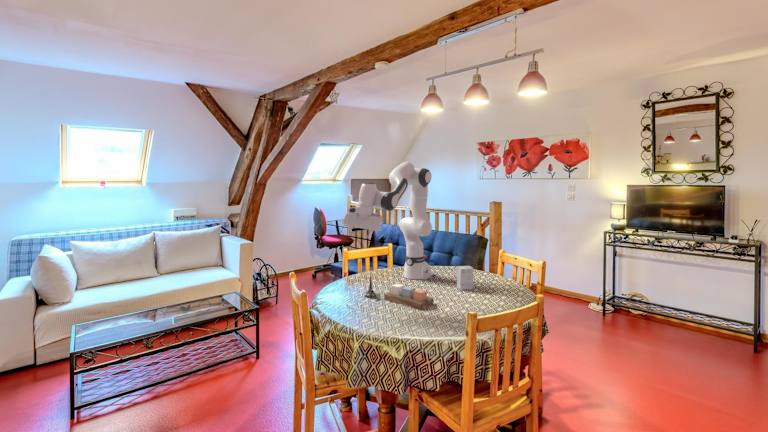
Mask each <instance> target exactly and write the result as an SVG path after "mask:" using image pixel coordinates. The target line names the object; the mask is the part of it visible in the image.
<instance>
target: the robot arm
mask: <svg viewBox="0 0 768 432" xmlns="http://www.w3.org/2000/svg"><path fill="white" fill-rule="evenodd" d="M431 180H432V173H431V171H430V170H429V169H427V168H421V167H415V166H414V164H413V163H411V162H410V161H404V162H401V163H400V164H398V165H397V166H396V167H395V168H393V170H392V171H391V172H390V173H389V176H388V181H389V183H390V184H391V186H392V187H393V190H392V191H380V190H379V189H378V188H377V184H376V183H374V182H365V181H364V182H363V183H362V184H361V185H360V189H359V192H358V193H359V194H358V202H357V204H356V206H353V207H348V208H347V212H346V213H345V215H344V218H343V222H342V224H343V226H346V227H348V231H349V236H354V231H352V229H353V228H356V229H363V230H368V231H369V234H367V235H366V239H371V236H372V234H373V233H374V232H379V231H381V223H382V222H383V216H382V215H381V214H380V213H374V212H373V210H374V209H379V210H384V211H388V212H391V211H392V212H393V211H394V210H395V208H396V207H397V206H398V203H399V202H400V199H401V198H402V196H403V195H404V193H405V192H406V191H407V188H408V186H412V187H411V190H410V196H409V205H408V208H409V210H410V211H411V214H412V216H411V217H410V216H407V217H403V218H402V219H400V221H399V222H398V223H399V224H398V227H399V229H400V231H401V232H402V234H403V237H404V240H405V247H406V251H405V254H406V255H405V263H404V268H403V269H404V270H403V272H402V276H403V278H405V279H408V280H428V279H429V278H431V277H432V276H434V275H435V272H434V271H432V268H431V265H430V264H429V263H428V262H427V261H426V260H425V259H427V258H428V256H427V255H425V254H424V242H422V240H421V239H420V237H427V236H429V235H430V234H431V233H432V230H433V226H432V223H431V222H430V220H429V217H428V214H427V205H428V204H427V203H428V196H429V195H428V193H429V186H428V185H429V184H430V183H431V182H432V181H431Z"/></svg>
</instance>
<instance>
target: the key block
mask: <svg viewBox="0 0 768 432" xmlns="http://www.w3.org/2000/svg"><path fill="white" fill-rule="evenodd" d="M383 296H384V298H383V299H384V300H385V301H389V302H391V303H392V302H393V303H395V304H398V305H401V306H405V307H410V308H412V309H417V310H419V311H421V310H424V309H425V308H427V307H429V306H431V305H434V297H431V296H427V300H425V301H423V302H420V301H416V300H413V298H411V299H408V298H405V297H402V295H399V296H397V295H394V294H391V291H389V292H386V293H384V295H383Z"/></svg>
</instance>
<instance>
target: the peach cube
mask: <svg viewBox="0 0 768 432" xmlns="http://www.w3.org/2000/svg"><path fill="white" fill-rule="evenodd" d="M427 295H428V291H427V290H425V289H420V288H417V289H415V291H414V294H413V300H416V301H420V302H423V301H425V300H427V297H428V296H427Z"/></svg>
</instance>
